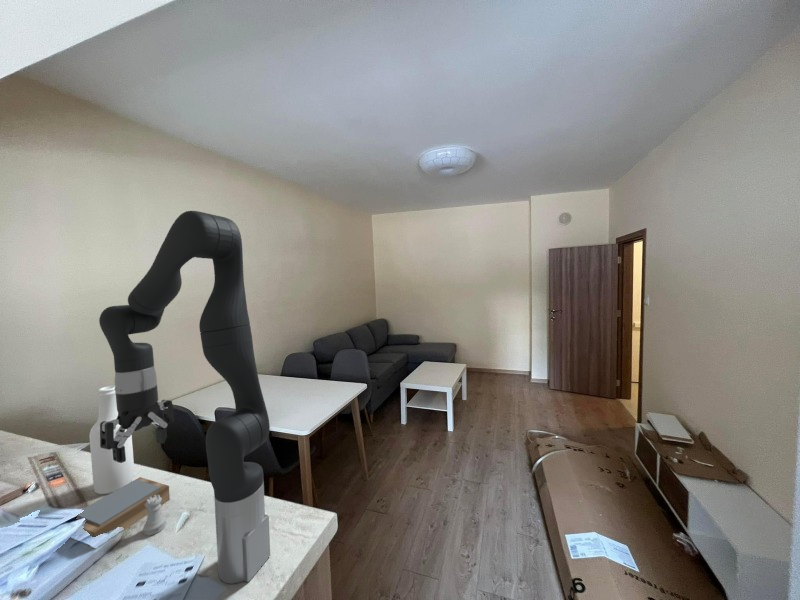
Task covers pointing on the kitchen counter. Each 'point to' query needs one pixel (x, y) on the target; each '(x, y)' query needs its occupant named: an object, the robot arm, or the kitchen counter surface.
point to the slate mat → (117, 502)
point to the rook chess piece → (154, 516)
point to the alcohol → (103, 466)
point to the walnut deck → (128, 512)
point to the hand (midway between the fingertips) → (142, 451)
